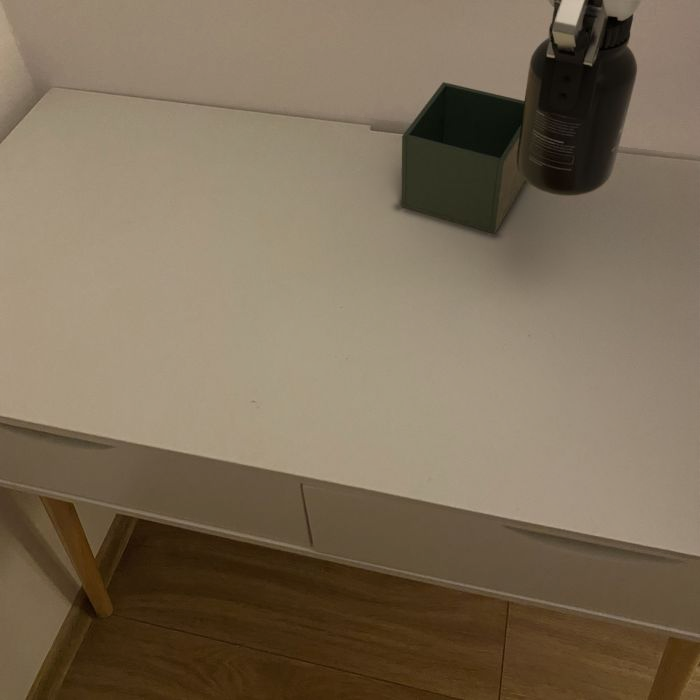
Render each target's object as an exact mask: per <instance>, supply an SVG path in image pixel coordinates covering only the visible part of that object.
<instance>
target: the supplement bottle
mask: <svg viewBox="0 0 700 700" xmlns="http://www.w3.org/2000/svg"><path fill="white" fill-rule="evenodd" d="M602 2H603V0H589V2H588V4H589V5H594V6H599V7H601V6H602ZM557 10H558V7H556V8H554V7H553V13H552V18H551V23H550V25H549V29H548V37H547V38H545V40H543V41H542V42H541V43H540V44H539V45H538V46H537V47H536V48H535V50H534V51H533V53H532V55H531V57H530V61H529V66H528V73H527V80H526V88H525V93H524V100H523V101H524V108H523V115H522V123H521V130H520V137H519V144H518V152H517V167H518V170H519V172H520V174H521V175H522V177H523V178H524V179H525V182H526V183H528V184H529V185H531V186H532V187H533V188H534V189H537V190H539V191H541V192H543V193H547V194H550V195H554V196H561V197H575V196H581V195H586V194H590V193H592V192H594V191H596V190H598V189H600V188H601V187H602V186H604V185H605V184H606V183H607V182H608V180H609V179H610V177H611V176H612V173H613V170H614V166H615V162H616V160H617V159H616V158H617V155H618V151H619V147H620V143H621V139H622V135H623V131H624V128H625V123H626V119H627V115H628V111H629V107H630V103H631V100H632V96H633V91H634V87H635V83H636V79H637V75H638V64H637V60H636V57H635V55H634V52H633V51H632V50H631V48H630V47H629V46H628V45H629V42H630V38H631V29H632V24H633V21H634V13H633V14H632V15H631V16H630V17H628V18H627V19H625V20H623V21H620V20H618V19H617V18H618V17H613V16H608V19H607V22H606V26H605V29H604V33H603V36H602V40H601V43H600V47H599V50H598V54H597V57H596V58H599V59H602V60H601V64H600V69H599V73H598V78H597V83H596V87H595V92H594V96H593V101H592V105H591V110H590V113H589V115H588V117H587V118H586V119H585V120H578V119H574V118H570V117H565V116H561V115H557V114H553V113H549V112H544V111H541V110H540V109H539V107H538V101H539V95H540V89H541V83H542V76H543V70H544V64H545V58H546V52H547V49H548V45H549V41H550V37H551V33H552V29H553V24H554V21H555V18H556V14H557ZM594 21H595V18H593V17H588V16H584V17H583V24H582V25H583V27H582V30H581V31H586V32H587V35H588V38H589V39H590V35H591V32H592V28H593V25H594Z"/></svg>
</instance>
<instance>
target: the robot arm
mask: <svg viewBox="0 0 700 700" xmlns="http://www.w3.org/2000/svg"><path fill="white" fill-rule="evenodd" d="M548 2H549V4H550V6H552V7H553V9H554V8H556V7H558V10H557V14H556V18H555V21H554V24H553V29H552V33H551V37H550V41H549V45H548V49H547V52H546V58H545V64H544V70H543V76H542V83H541V89H540V95H539V101H538V107H539V109H540V110H541V111H544V112H549V113H553V114H557V115H561V116H565V117H570V118H574V119H578V120H585V119H586V118H587V117H588V115H589V113H590V110H591V105H592V101H593V96H594V92H595V87H596V83H597V78H598V73H599V69H600V64H601V60H602V59H599V58H596V57H597V54H598V50H599V47H600V43H601V40H602V36H603V33H604V29H605V26H606V22H607V19H608V16H613V17H618V18H617V19H618V20H620V21H623V20H625V19H627V18H628V17H630V16H631V15H632V14H633V15H634V14H635V12H636V11H637V10H638V7H639V5H640V4H641V2H642V0H603V2H602V6H601V7H599V6H594V5H589V4H588V2H589V0H548ZM584 16H588V17H593V18H595V21H594V25H593V28H592V32H591V35H590V39H589V38H588V35H587V32H586V31H581V30H582V27H583V25H582V24H583V17H584Z"/></svg>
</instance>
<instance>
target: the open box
mask: <svg viewBox="0 0 700 700" xmlns="http://www.w3.org/2000/svg"><path fill="white" fill-rule="evenodd" d="M524 101H525V100H522V99H519V98H513V97H509V96H505V95H500V94H496V93H491V92H487V91H483V90H479V89H475V88H470V87H467V86H462V85H458V84H453V83H449V82H445V81H443V82H442V83H440V85H439V87H438V88H437V89H436V91H435V92H434V93H433V95H432V96H431V97H430V98H429V100H428V101H427V103H426V104H425V105H424V106H423V108H422V109H421V110H420V112H419V113H418V115H417V116H416V117H415V118H414V120H413V121H412V122H411V124H410V125H409V126H408V128H407V129H406V131H405V132H403V135H402V136H401V201H400V202H401V205H400V206H401V207H402V208H404V209H407V210H412V211H414V212H418V213H422V214H425V215H428V216H432V217H434V218H435V217H436V218H439V219H442V220H445V221H450V222H453V223H456V224H460V225H463V226H467V227H469V228H474V229H477V230H481V231H484V232H487V233H491V234H494V235H495V234H496V232H497V231H498V229H499V227H500V225H501V224H502V223H503V220H504V218H505V216H506V215H507V213H508V211H509V210H510V208H511V206H512V205H513V202H514V201H515V199H516V197H517V195H518V194H519V192H520V190H521V189H522V187H523V185H524V183H525V182H526V180H525V179H524V178H523V177H522V175H521V174H520V172H519V170H518V167H517V152H518V144H519V137H520V130H521V123H522V115H523V108H524Z"/></svg>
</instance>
